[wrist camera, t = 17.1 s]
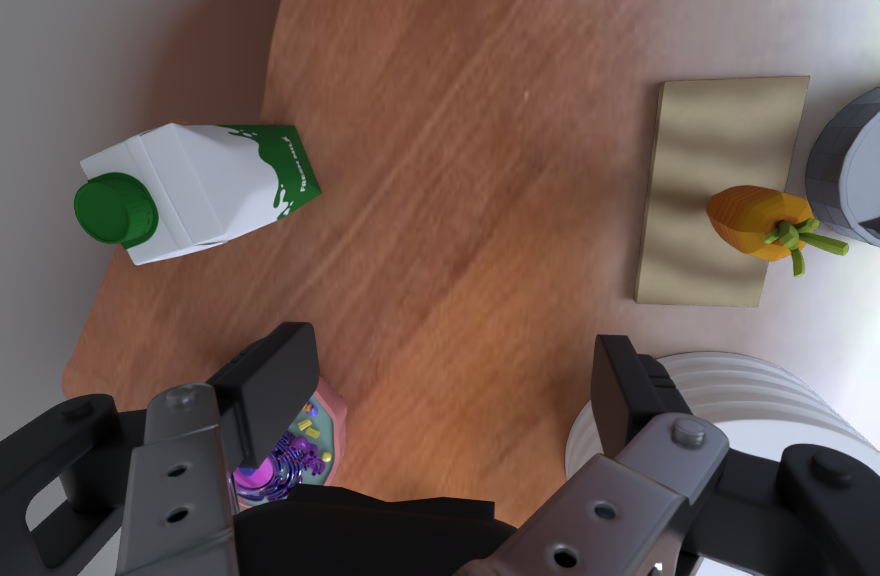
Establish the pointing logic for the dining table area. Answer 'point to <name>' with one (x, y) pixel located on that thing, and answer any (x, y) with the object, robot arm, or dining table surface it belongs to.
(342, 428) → the cell model
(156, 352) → the dining table surface
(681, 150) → the board
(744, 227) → the carrot
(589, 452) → the plate stack
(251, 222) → the milk carton
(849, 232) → the pan
